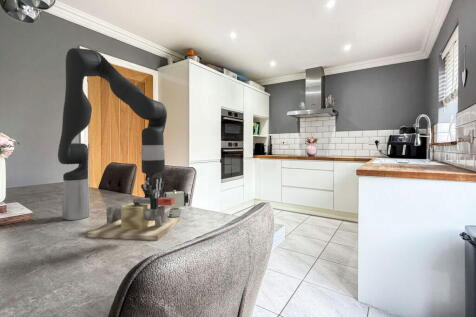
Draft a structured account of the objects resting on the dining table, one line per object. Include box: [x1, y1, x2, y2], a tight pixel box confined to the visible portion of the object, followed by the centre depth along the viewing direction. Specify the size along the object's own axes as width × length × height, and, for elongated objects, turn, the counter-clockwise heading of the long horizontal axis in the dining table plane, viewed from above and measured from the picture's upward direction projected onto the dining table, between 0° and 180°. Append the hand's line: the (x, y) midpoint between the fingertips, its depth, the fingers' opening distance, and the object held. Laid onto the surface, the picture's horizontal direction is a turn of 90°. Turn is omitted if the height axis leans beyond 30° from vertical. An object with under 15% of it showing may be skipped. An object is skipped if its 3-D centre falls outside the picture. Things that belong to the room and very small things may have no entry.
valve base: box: [87, 202, 181, 241], centre depth 91 cm, size 26×20×10 cm
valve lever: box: [132, 196, 174, 206], centre depth 89 cm, size 16×3×2 cm, turn 84°
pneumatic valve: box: [160, 189, 190, 218], centre depth 107 cm, size 6×12×12 cm, turn 111°
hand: (154, 208), depth 81 cm, fingers closed
